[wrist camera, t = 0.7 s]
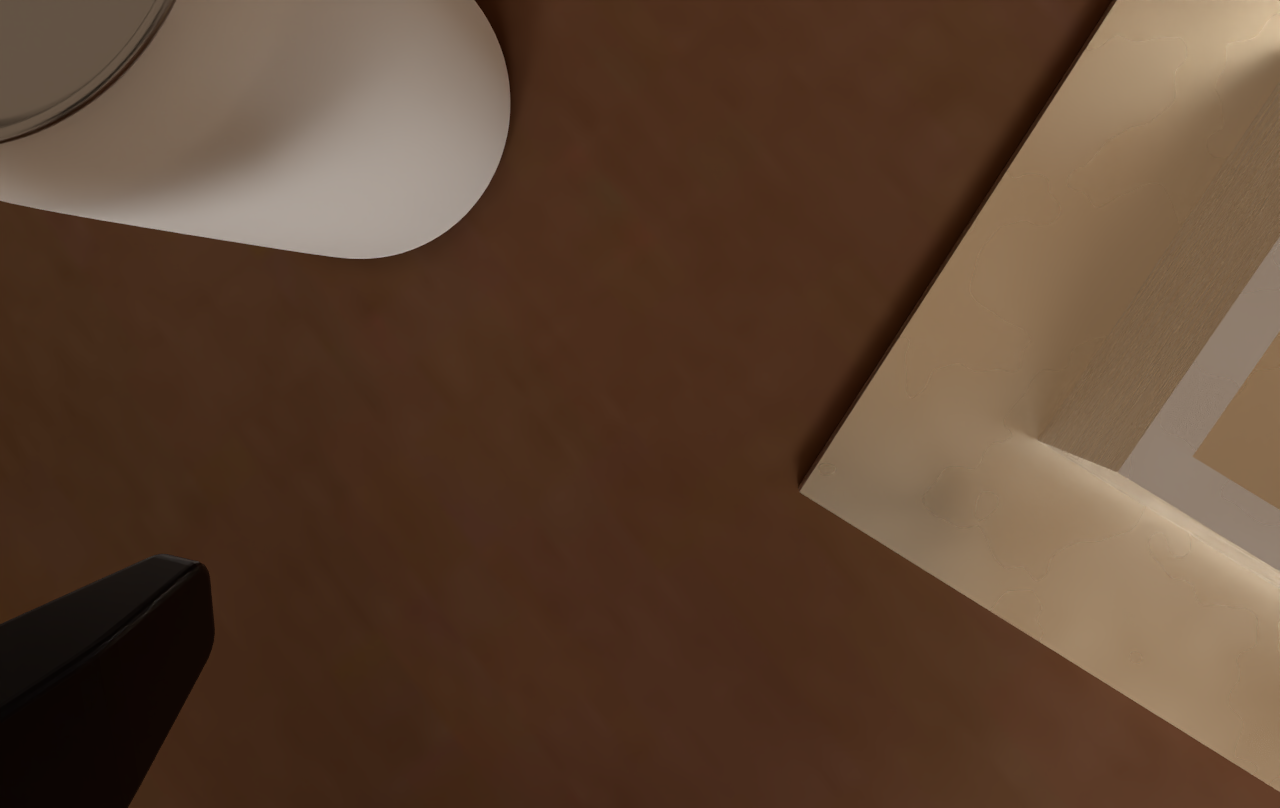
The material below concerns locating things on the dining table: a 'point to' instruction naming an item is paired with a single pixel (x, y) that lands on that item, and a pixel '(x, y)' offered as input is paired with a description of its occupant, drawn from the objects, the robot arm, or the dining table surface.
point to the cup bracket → (1108, 380)
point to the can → (254, 117)
